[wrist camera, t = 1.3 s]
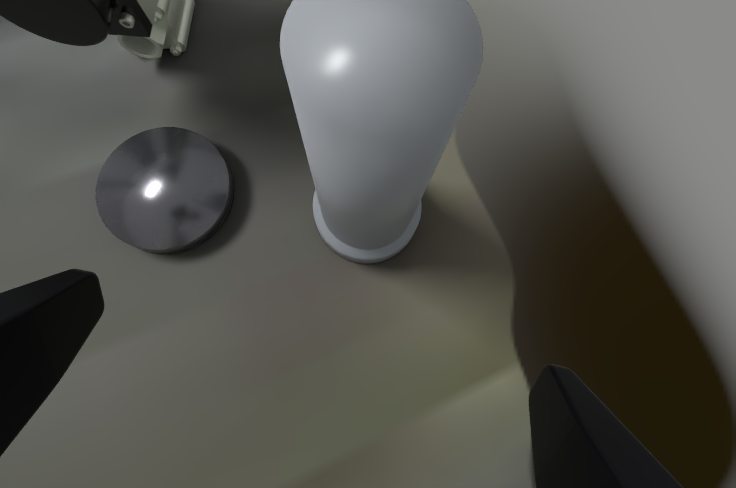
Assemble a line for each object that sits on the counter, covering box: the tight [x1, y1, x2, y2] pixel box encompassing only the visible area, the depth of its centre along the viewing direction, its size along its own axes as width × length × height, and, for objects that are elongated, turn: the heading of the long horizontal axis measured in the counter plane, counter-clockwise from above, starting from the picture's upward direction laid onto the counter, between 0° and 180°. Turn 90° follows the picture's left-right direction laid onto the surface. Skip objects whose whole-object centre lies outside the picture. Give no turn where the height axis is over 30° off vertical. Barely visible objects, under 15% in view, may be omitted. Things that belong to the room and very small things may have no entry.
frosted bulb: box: [280, 0, 483, 264], centre depth 16 cm, size 5×5×13 cm
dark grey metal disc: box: [96, 127, 234, 254], centre depth 21 cm, size 7×7×1 cm
